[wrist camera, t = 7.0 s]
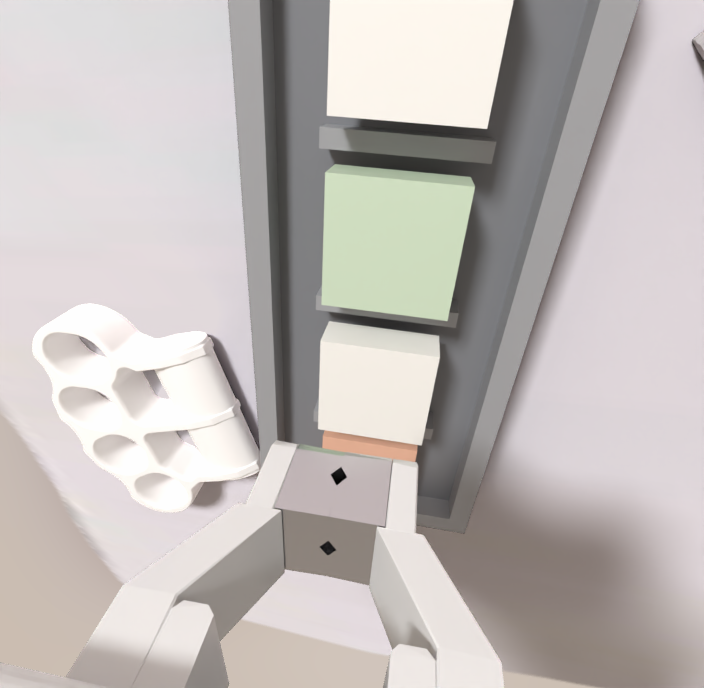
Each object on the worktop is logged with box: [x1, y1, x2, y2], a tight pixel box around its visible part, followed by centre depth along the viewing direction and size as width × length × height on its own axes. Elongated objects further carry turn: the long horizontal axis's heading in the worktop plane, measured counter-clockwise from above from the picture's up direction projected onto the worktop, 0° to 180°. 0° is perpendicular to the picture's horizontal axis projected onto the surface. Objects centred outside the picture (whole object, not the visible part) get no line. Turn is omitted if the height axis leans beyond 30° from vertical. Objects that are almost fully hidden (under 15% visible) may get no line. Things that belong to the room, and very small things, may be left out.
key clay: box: [322, 430, 417, 462], centre depth 27 cm, size 6×6×2 cm
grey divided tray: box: [228, 0, 640, 534], centre depth 23 cm, size 14×32×4 cm, turn 176°
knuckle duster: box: [32, 304, 261, 513], centre depth 32 cm, size 3×18×15 cm
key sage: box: [321, 164, 475, 321], centre depth 18 cm, size 6×6×2 cm
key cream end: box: [327, 0, 514, 129], centre depth 14 cm, size 6×6×2 cm
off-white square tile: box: [318, 321, 440, 446], centre depth 22 cm, size 6×6×2 cm
